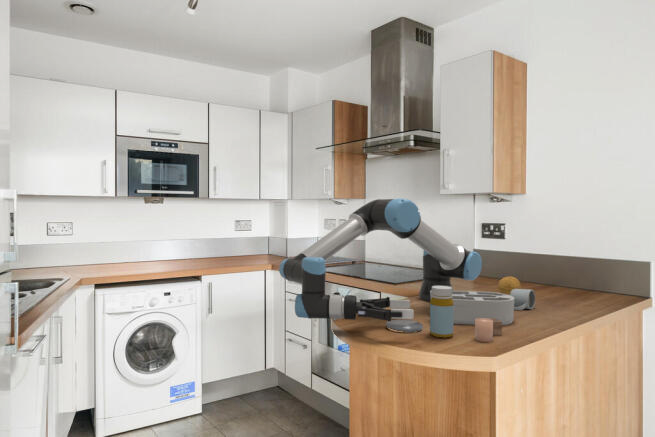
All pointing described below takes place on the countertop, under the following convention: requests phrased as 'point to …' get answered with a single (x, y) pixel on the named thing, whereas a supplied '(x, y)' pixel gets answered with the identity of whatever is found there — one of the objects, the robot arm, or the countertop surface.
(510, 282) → the potato
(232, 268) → the countertop surface
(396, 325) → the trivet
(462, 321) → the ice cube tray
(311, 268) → the robot arm
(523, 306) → the ceramic mug
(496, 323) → the walnut block
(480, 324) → the pink rounded block
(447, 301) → the bottle
